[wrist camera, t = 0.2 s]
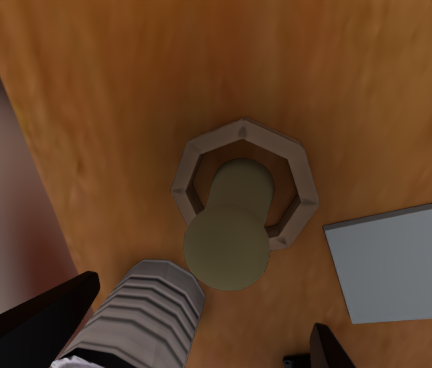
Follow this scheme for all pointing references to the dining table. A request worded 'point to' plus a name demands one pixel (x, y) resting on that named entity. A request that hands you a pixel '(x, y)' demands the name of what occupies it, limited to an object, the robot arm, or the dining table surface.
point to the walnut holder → (268, 140)
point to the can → (141, 321)
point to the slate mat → (385, 264)
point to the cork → (232, 228)
